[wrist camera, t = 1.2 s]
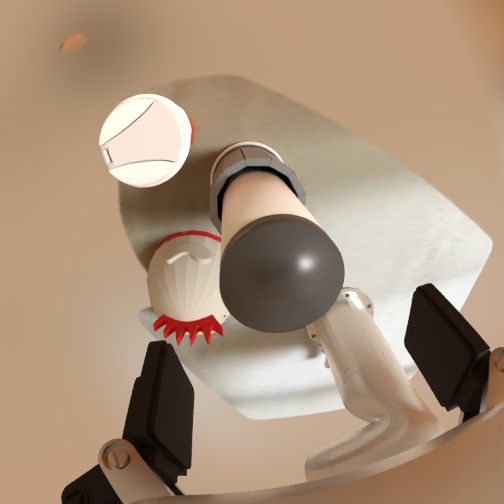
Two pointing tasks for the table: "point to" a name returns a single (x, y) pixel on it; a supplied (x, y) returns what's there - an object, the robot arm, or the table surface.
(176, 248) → the kitchen timer
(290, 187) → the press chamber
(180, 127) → the coffee cup
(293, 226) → the plunger
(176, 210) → the table surface
